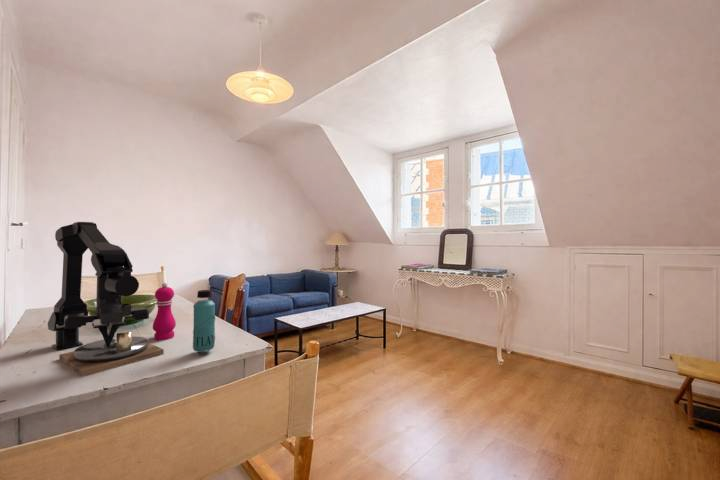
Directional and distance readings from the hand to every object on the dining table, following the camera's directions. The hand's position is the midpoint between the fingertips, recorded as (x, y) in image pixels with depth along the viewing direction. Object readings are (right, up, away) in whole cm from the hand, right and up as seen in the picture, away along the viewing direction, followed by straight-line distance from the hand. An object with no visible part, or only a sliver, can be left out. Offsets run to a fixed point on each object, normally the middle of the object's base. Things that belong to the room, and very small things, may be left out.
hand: (108, 346), depth 92 cm
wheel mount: (-3, -5, +6) cm, 9 cm away
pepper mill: (+1, -5, +25) cm, 26 cm away
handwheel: (-3, -3, +6) cm, 8 cm away
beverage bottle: (+22, -6, +10) cm, 25 cm away
